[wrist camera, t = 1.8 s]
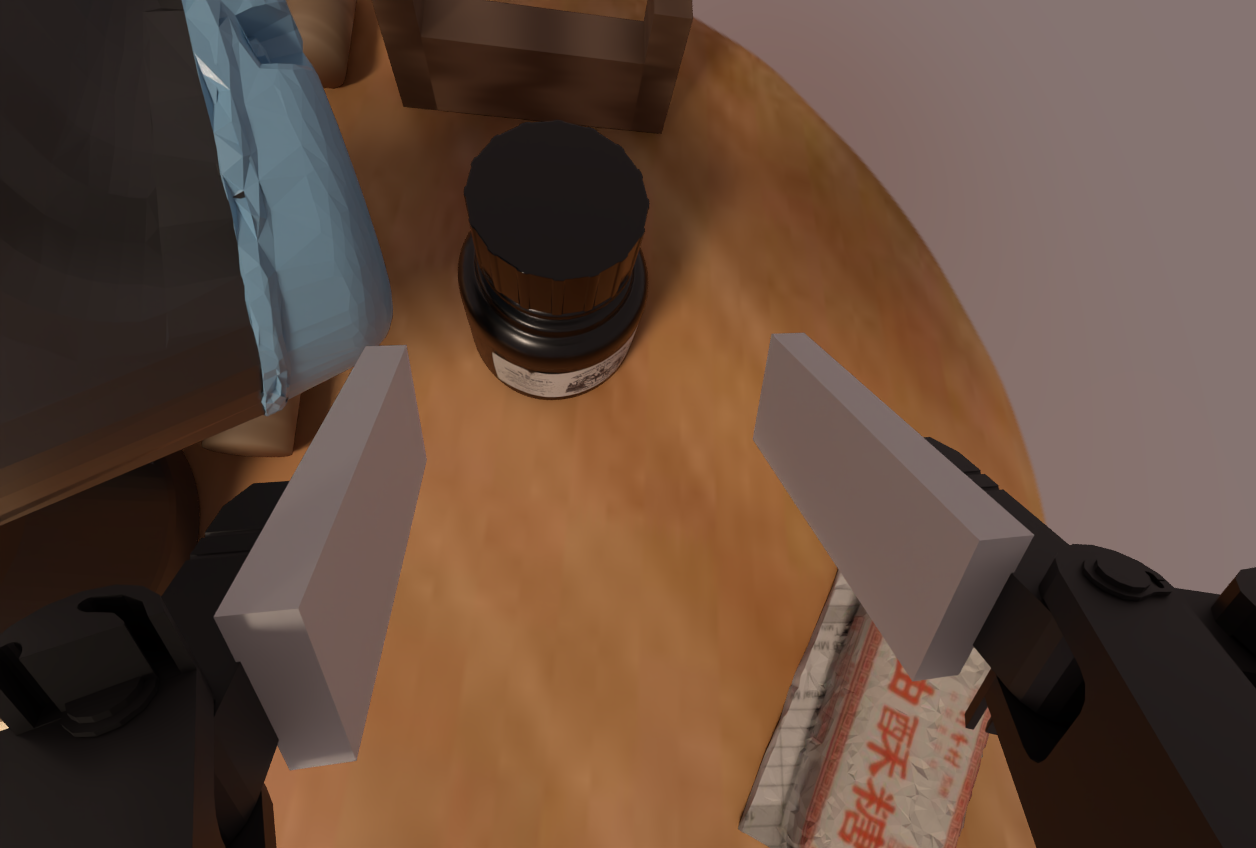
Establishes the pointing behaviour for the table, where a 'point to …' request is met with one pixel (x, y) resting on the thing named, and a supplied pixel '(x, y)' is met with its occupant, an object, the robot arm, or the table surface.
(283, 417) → the roller
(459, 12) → the rail
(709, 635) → the table surface
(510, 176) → the ink bottle
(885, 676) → the packaged product
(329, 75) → the roller
